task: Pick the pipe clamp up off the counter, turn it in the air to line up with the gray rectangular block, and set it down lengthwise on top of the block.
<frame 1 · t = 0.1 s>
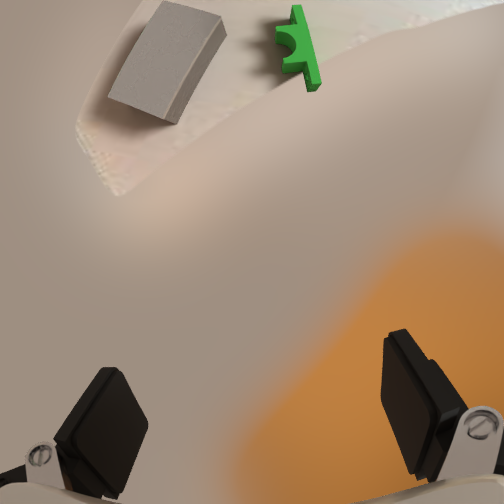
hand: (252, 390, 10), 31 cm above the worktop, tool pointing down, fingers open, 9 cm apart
gray rectangular block: (175, 67, 34), on the worktop
pipe clamp: (293, 54, 33), on the worktop
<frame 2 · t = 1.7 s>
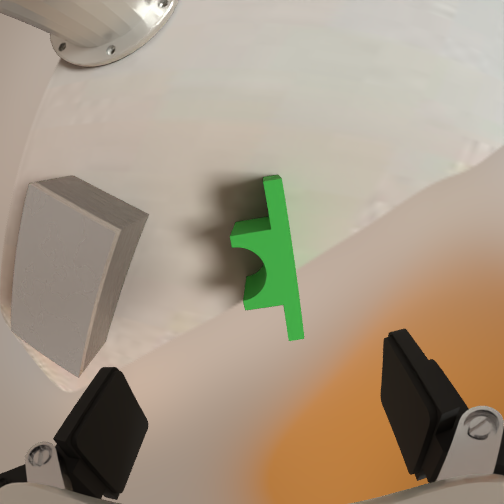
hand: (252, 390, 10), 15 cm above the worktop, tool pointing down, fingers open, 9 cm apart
gray rectangular block: (86, 265, 25), on the worktop
pipe clamp: (267, 248, 24), on the worktop
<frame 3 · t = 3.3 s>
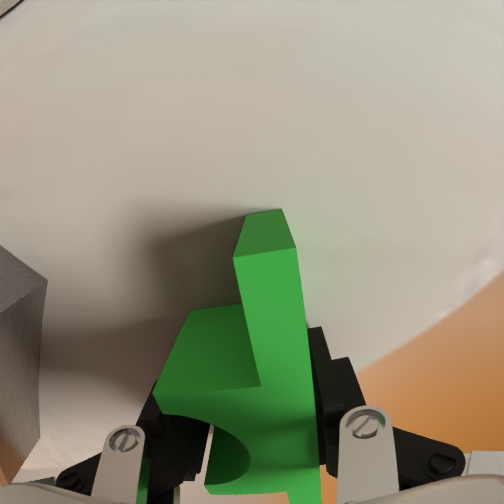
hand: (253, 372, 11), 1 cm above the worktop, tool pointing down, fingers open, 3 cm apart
pipe clamp: (257, 356, 11), on the worktop
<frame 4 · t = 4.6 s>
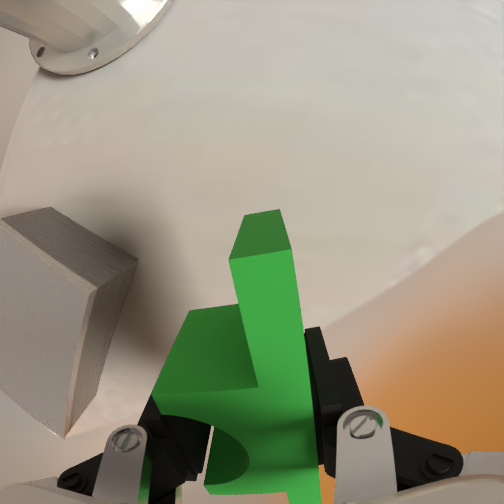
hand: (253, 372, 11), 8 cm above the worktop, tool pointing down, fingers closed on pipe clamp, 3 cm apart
gray rectangular block: (69, 312, 20), on the worktop
pipe clamp: (257, 357, 11), point 7 cm above the worktop, touching gripper
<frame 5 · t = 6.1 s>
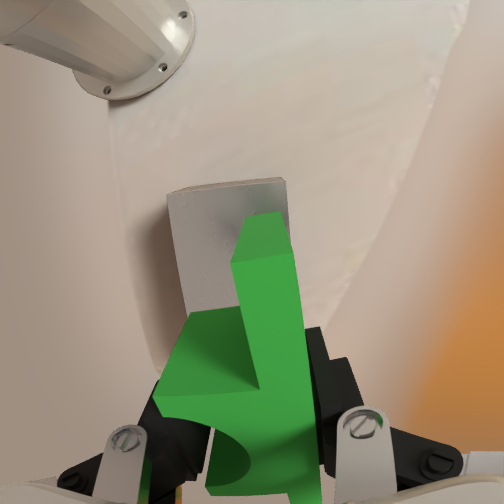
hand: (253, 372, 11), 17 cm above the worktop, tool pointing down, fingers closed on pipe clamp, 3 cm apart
gray rectangular block: (242, 260, 28), on the worktop
pipe clamp: (257, 358, 11), point 16 cm above the worktop, touching gripper
when the fingers open (7 cm above the worktop, at t = 8.4 s): pipe clamp stays where it is, resting on gray rectangular block.
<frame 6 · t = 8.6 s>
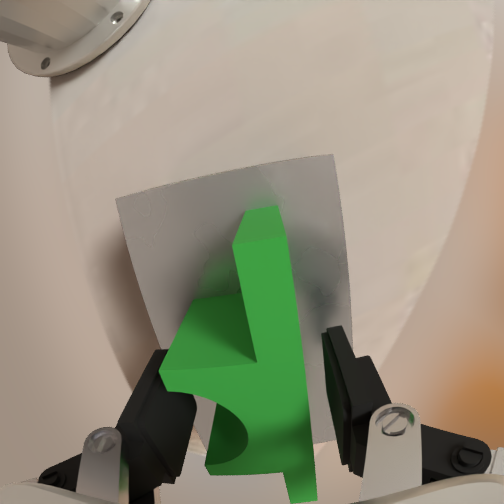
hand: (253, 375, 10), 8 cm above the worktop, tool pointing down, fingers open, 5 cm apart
gray rectangular block: (258, 290, 18), on the worktop
pipe clamp: (256, 344, 12), point 6 cm above the worktop, touching gray rectangular block
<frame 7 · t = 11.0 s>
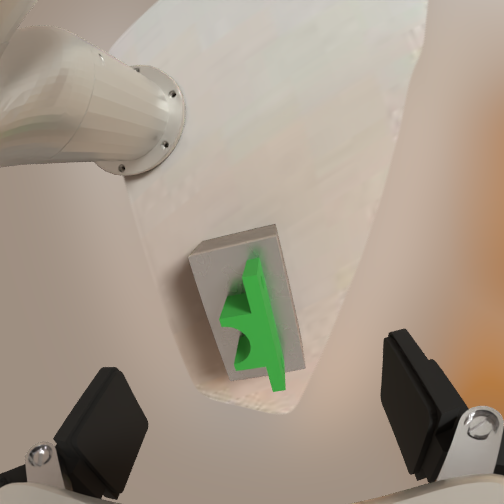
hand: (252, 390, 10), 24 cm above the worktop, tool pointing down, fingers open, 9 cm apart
gray rectangular block: (254, 293, 34), on the worktop
pipe clamp: (254, 315, 28), point 6 cm above the worktop, touching gray rectangular block
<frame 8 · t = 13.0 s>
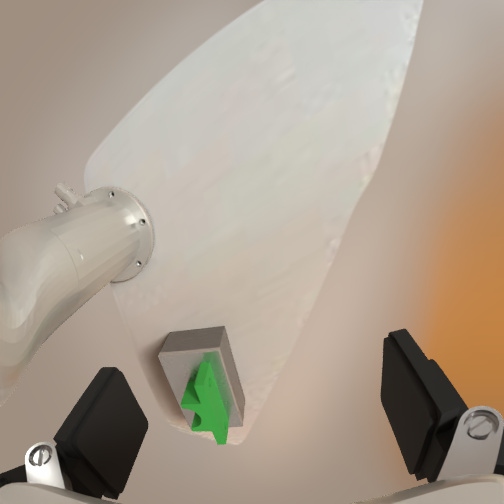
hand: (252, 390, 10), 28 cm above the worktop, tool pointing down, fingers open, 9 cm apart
gray rectangular block: (209, 368, 43), on the worktop
pipe clamp: (207, 393, 38), point 6 cm above the worktop, touching gray rectangular block
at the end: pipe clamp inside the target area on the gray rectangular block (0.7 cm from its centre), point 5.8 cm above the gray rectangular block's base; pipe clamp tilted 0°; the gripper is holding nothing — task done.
